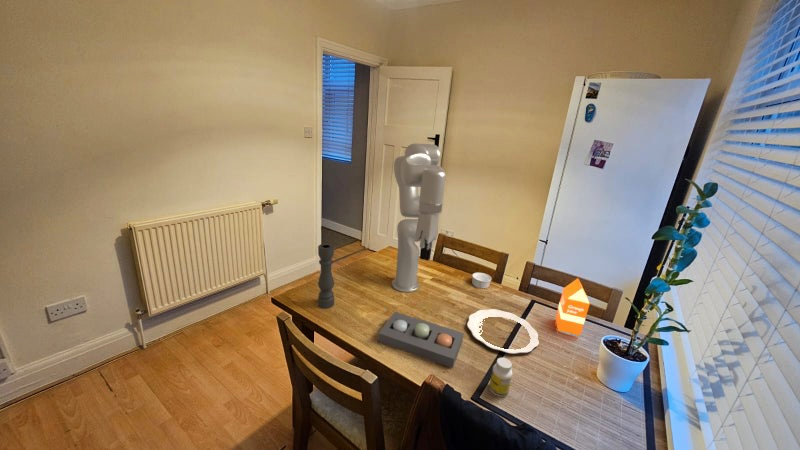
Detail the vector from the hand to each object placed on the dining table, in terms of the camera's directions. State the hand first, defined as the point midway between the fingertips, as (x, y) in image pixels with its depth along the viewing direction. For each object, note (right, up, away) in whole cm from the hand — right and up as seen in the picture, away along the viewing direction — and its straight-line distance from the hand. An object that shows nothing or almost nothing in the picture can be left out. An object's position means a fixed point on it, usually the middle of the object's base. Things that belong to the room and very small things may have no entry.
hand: (424, 258), depth 108 cm
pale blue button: (-9, -26, +3) cm, 27 cm away
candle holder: (-38, -20, +17) cm, 46 cm away
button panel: (-1, -28, 0) cm, 29 cm away
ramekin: (+30, -17, +42) cm, 54 cm away
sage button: (-1, -26, -1) cm, 26 cm away
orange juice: (+56, -29, +14) cm, 64 cm away
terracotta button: (+6, -29, -3) cm, 29 cm away
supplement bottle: (+20, -36, -17) cm, 45 cm away
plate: (+29, -29, +8) cm, 42 cm away
